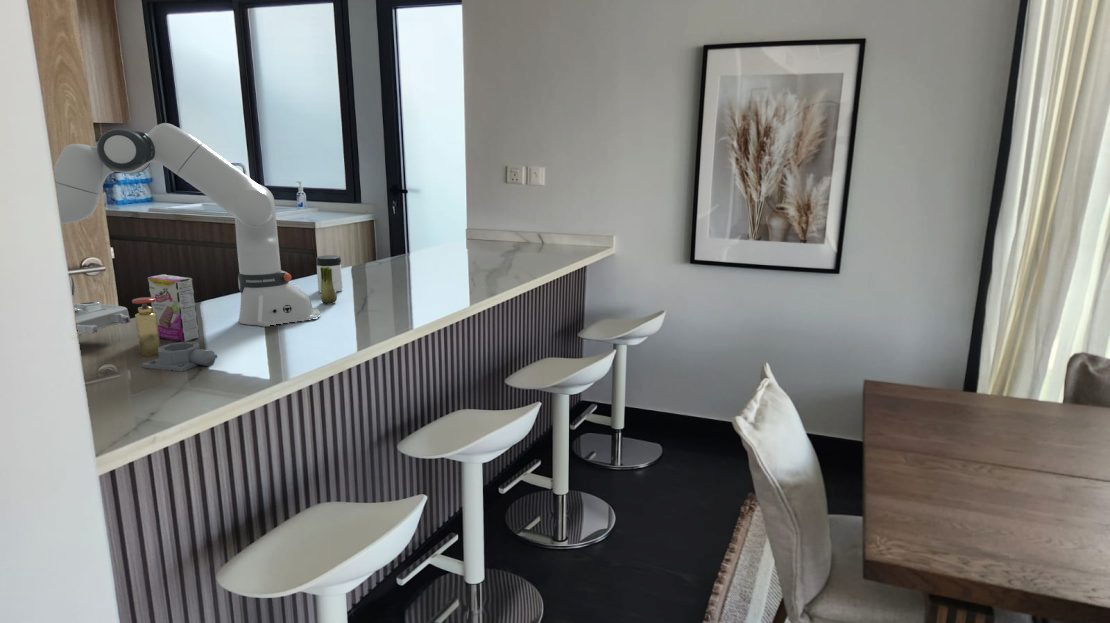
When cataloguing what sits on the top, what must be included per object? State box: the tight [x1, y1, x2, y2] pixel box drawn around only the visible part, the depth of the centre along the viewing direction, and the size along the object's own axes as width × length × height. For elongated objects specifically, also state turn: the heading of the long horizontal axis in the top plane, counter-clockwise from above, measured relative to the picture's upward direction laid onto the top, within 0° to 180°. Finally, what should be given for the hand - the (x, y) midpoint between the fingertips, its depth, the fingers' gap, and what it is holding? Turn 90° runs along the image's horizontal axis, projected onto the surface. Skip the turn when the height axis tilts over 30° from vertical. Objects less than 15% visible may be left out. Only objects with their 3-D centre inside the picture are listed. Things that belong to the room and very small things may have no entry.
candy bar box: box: [147, 274, 200, 342], centre depth 180 cm, size 11×5×16 cm, turn 66°
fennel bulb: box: [320, 267, 338, 304], centre depth 221 cm, size 6×5×12 cm
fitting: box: [141, 341, 218, 373], centre depth 160 cm, size 14×11×4 cm
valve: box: [131, 296, 162, 357], centre depth 166 cm, size 5×5×14 cm
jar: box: [315, 254, 343, 292], centre depth 240 cm, size 9×8×12 cm
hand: (111, 324), depth 169 cm, fingers open, 8 cm apart
